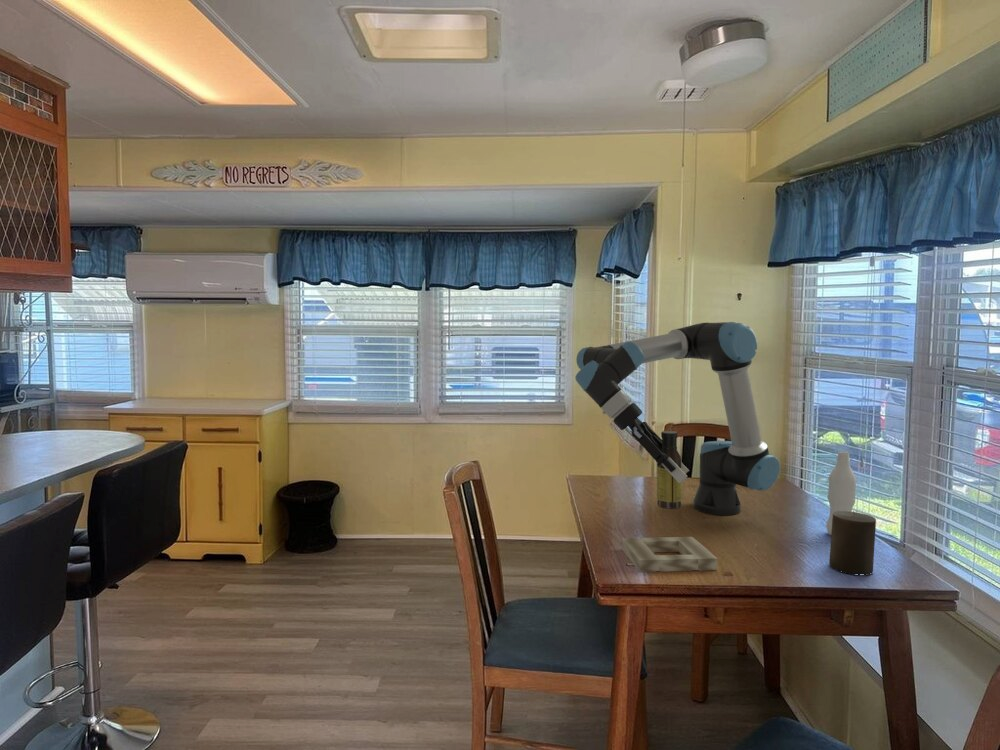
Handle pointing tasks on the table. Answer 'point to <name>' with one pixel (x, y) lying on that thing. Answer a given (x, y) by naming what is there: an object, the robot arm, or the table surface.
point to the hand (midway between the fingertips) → (684, 476)
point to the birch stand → (689, 559)
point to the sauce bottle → (669, 475)
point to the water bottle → (841, 487)
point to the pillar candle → (852, 542)
